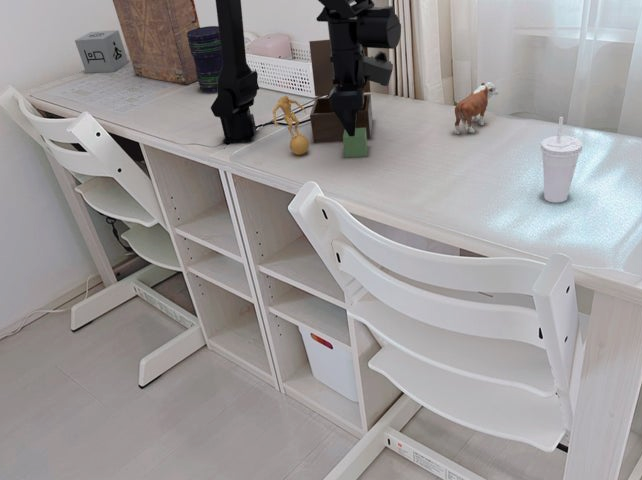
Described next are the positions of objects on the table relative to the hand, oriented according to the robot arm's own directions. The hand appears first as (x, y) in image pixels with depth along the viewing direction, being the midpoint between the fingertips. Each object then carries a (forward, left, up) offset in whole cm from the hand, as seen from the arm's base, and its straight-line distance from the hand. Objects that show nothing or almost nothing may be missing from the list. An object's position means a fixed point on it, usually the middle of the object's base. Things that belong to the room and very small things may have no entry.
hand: (353, 127), depth 123 cm
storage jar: (-42, +50, -6) cm, 66 cm away
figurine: (-13, +2, -6) cm, 14 cm away
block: (0, 0, -6) cm, 6 cm away
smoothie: (+36, -24, -6) cm, 43 cm away
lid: (-3, +18, +7) cm, 19 cm away
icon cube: (-87, +80, -6) cm, 119 cm away
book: (-60, +65, -6) cm, 89 cm away
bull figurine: (+25, +10, -6) cm, 27 cm away
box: (-3, +12, -6) cm, 13 cm away
